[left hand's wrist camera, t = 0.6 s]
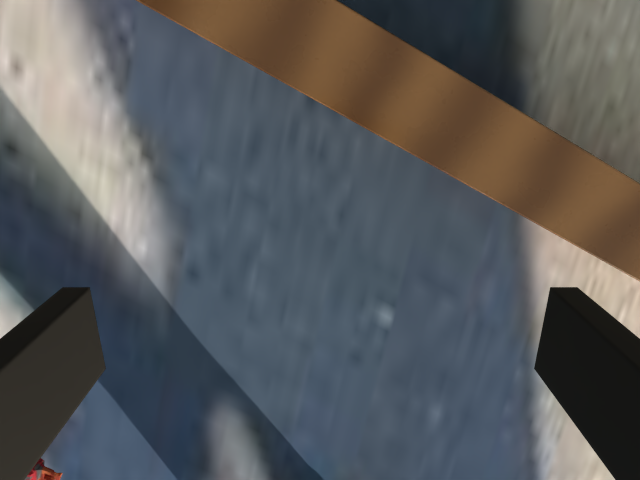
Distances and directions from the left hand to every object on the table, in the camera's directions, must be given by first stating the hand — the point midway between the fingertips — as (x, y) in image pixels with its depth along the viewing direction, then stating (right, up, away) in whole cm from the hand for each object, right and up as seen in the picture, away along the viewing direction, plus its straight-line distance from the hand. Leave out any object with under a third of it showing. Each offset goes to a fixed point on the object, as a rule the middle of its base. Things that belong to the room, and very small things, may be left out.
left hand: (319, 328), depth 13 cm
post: (+9, +12, +23) cm, 28 cm away
